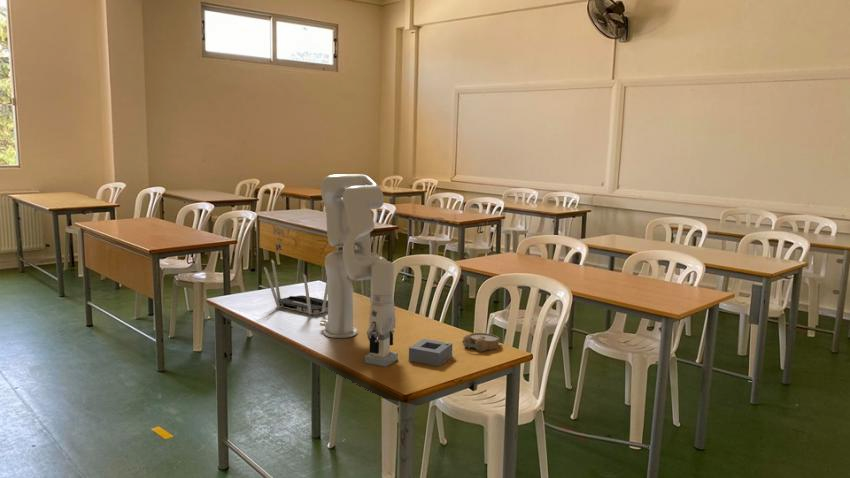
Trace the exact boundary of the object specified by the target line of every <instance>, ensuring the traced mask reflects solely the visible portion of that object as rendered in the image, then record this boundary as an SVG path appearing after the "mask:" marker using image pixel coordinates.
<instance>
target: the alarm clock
mask: <svg viewBox="0 0 850 478" xmlns="http://www.w3.org/2000/svg"><path fill="white" fill-rule="evenodd" d="M500 342H502V341H501V340H500V336H497V335H495V334H491V333H484V332H473V333H470V334H466V335H465V336H464V337H463V339H462V342H461V343H463V346H464V347H465V348H466V349H470V348H473V349H475V350H476V351H478V352H481V353H484V352H486V351H487V350H496V349H498V348H500V347H499V345H500V344H499V343H500Z"/></svg>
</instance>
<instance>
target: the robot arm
mask: <svg viewBox="0 0 850 478" xmlns="http://www.w3.org/2000/svg"><path fill="white" fill-rule="evenodd" d="M320 193H321V194H320V195H321V199H322V201H323V205H324V208H325V215H326V216H325V217H326V232H327V233H326V235H327V241H328V244H329V246H331V247H334V248H342V250H335V251H332V252H330V253H328V254H327V255H326V256H325V259H324V267H325V268H324V269H325V272H326V273H325V274H326V282H327V287H328V294H327V301H328V311H327V319H323V318H321V320H320V323H319V326H321V327H324V330H323V335H324V336H326V337H328V338H332V339H347V338H351V337H354V336H356V335H357V334H358V329H357V328H356V327H355V326H354V286H353V284H352V283H351V282H350V280H352V281H357V282H358V281H366V280H370V308H369V309H370V310H369V317H368V319H369V323H368V326H369V327H368V329H367V330H366V334H367V339H368V342H369V353H375V354H378V353H379V342H378V339H379V336H380V335H384V334H386V333H388V332H390V346H393V345H394V333H395V330H394V329H395V328H396V309H395V301H394V280H395V279H394V278H395V277H394V276H395V275H394V274H395V272H394V271H395V270H394V269H395V267H394V266H395V265H394V263H393V262H392V261H389V260H387V259H386V258H385V257H384V256H381V255H377V256H376V255H375V256H372V245H371V243H372V242H371V232H372V231H374V229H375V222H374V219H373V214H372V210H378V209H381V208H382V207H383V206H384V197H385V196H384V194H383V190H382V189H381V187H380V185H379V184H377V182H375V181H374V180H373V179H372V178H370V176H368V175H366V174H361V173H360V174H359V173H354V174H353V173H349V174H347V173H346V174H345V173H343V174H341V173H339V174H338V173H337V174H329V175H326V176H324V178H323V179H322V181H321V185H320ZM348 277H349V279H350V280H349V279H348ZM376 331H377V332H376ZM374 335H376V338H375V337H374Z"/></svg>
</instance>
